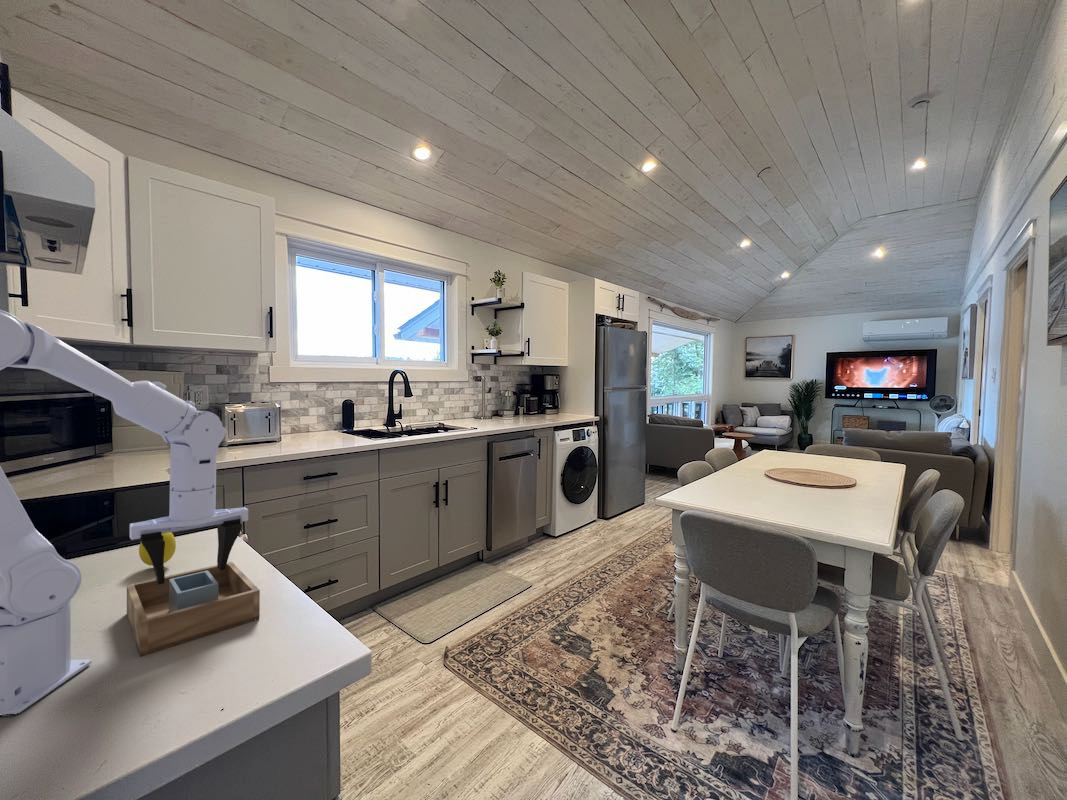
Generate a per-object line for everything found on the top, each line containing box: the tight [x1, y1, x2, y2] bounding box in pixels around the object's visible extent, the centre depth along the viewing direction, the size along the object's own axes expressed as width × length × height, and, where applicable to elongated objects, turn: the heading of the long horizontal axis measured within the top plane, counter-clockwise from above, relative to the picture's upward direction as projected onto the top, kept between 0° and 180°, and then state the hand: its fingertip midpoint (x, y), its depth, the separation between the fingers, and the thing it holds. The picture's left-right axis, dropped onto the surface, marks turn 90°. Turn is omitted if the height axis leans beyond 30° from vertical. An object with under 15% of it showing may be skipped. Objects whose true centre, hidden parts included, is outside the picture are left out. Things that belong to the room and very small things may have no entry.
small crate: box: [169, 570, 218, 612], centre depth 70 cm, size 7×5×5 cm
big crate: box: [126, 561, 261, 657], centre depth 70 cm, size 16×14×4 cm
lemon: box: [138, 532, 177, 567], centre depth 88 cm, size 6×6×8 cm
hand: (192, 574), depth 70 cm, fingers open, 7 cm apart
